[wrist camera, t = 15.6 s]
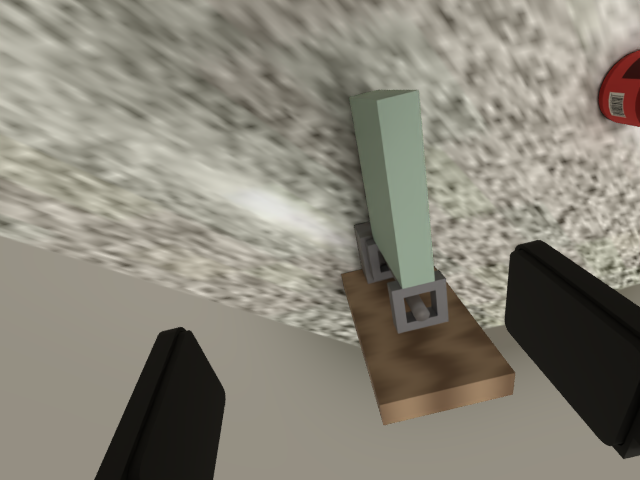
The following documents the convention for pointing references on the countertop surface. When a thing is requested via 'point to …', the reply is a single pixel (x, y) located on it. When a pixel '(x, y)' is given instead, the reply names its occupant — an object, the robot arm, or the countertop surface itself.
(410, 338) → the cabinet side
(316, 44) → the countertop surface
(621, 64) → the canned food
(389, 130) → the door
